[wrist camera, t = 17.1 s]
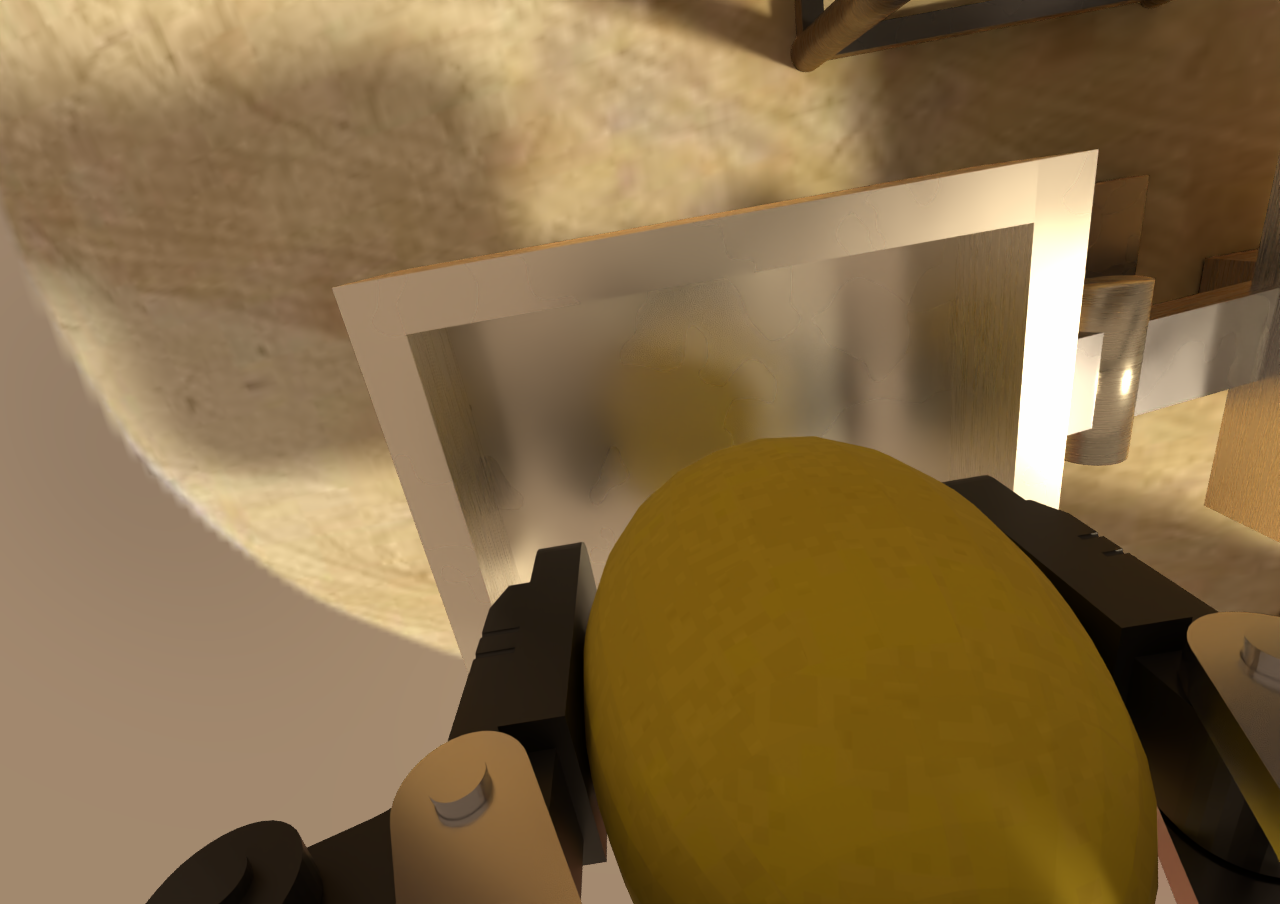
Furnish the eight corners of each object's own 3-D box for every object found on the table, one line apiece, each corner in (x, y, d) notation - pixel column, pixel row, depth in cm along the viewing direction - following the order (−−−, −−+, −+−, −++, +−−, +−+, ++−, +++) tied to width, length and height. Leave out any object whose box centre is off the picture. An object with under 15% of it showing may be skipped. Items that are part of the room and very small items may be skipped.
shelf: (489, 247, 19) (331, 287, 8) (1472, 69, 18) (2671, -136, 8) (561, 536, 23) (517, 812, 12) (1370, 398, 22) (2063, 565, 11)
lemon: (593, 639, 12) (558, 1348, 4) (594, 368, 10) (535, 848, 2) (863, 639, 12) (1254, 1306, 5) (919, 375, 10) (1775, 825, 3)
